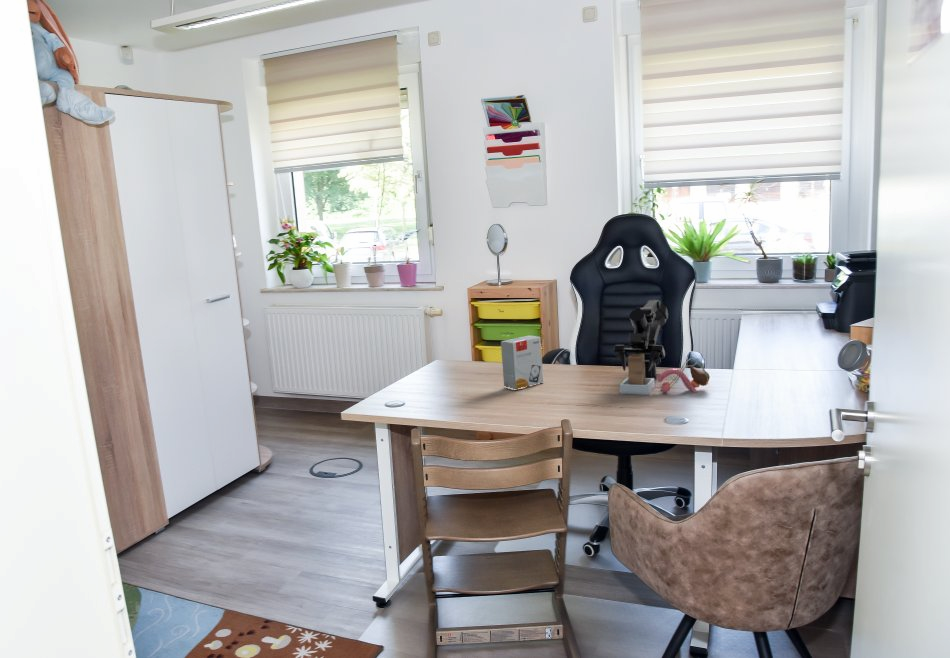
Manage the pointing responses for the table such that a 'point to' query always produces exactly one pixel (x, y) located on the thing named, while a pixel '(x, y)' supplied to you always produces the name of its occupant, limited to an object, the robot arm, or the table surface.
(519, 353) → the hard drive box
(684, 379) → the anatomy model
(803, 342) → the table surface
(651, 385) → the bin
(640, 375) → the walnut block
